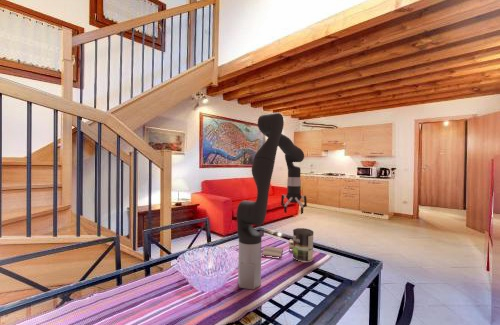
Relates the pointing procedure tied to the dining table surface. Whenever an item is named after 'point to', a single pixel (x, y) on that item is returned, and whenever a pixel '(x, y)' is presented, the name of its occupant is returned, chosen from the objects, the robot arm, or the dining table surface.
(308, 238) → the coffee can
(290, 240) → the letter cube
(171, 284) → the dining table surface
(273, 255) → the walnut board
